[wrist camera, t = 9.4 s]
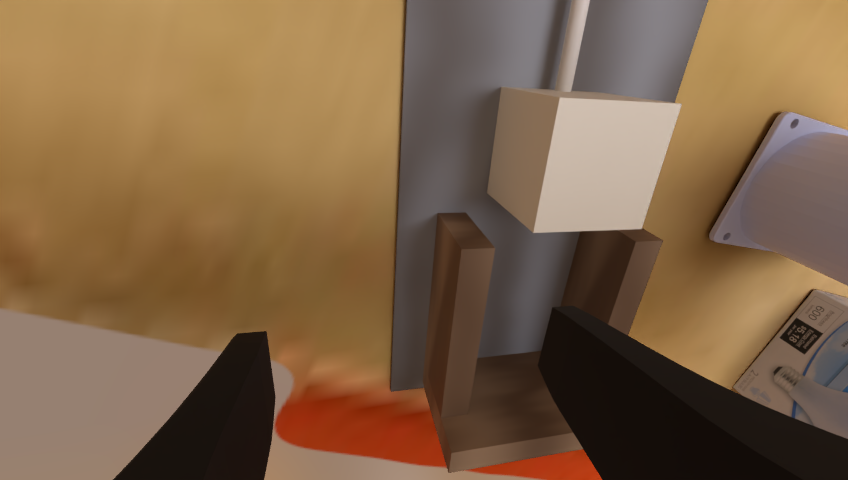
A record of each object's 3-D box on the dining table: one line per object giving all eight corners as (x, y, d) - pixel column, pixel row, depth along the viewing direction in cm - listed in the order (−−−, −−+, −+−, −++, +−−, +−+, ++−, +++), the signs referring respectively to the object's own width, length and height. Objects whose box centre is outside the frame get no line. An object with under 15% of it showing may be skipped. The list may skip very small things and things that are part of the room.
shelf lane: (728, -73, 17) (917, -129, 11) (585, 364, 28) (648, 442, 22) (411, -131, 14) (467, -244, 8) (390, 389, 25) (408, 486, 19)
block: (665, -194, 15) (858, -335, 9) (574, 192, 21) (659, 239, 16) (543, -225, 13) (685, -407, 8) (486, 192, 20) (545, 243, 14)
